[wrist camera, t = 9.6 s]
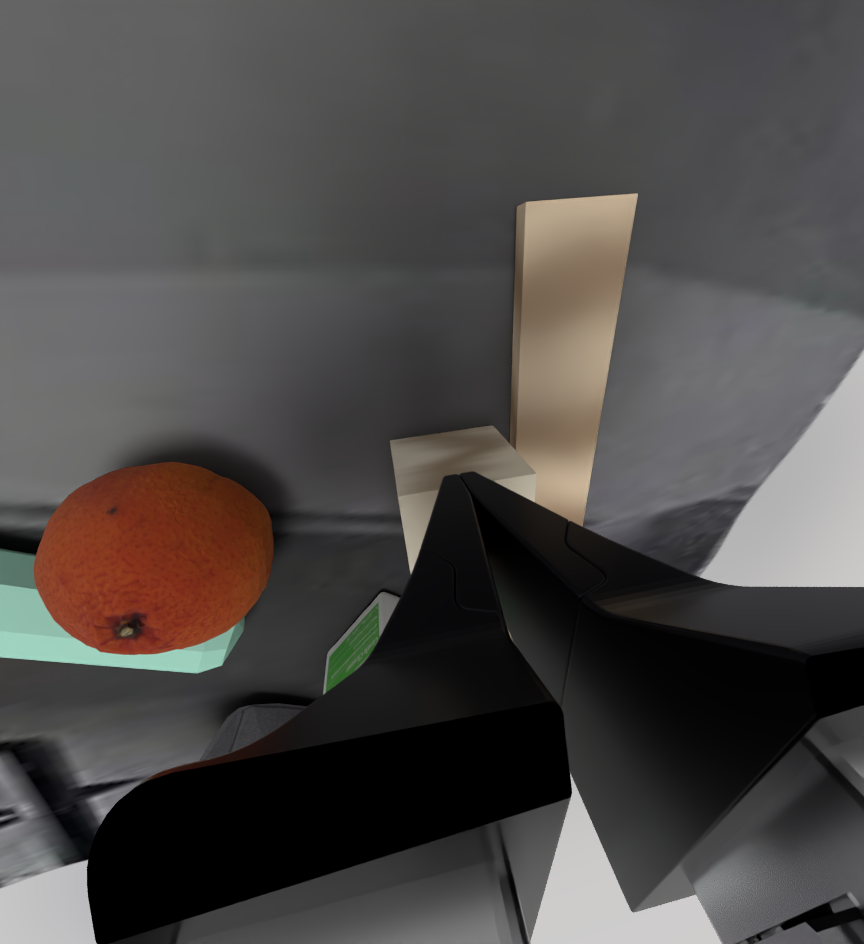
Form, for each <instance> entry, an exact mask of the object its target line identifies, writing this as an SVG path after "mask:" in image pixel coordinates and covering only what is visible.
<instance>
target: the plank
mask: <svg viewBox="0 0 864 944" xmlns="http://www.w3.org/2000/svg"><path fill="white" fill-rule="evenodd" d="M637 196H638V193H637V194H624V195H611V196H597V197H584V198H571V199H557V200H544V201H531V202H525V203H523V204H521V205H519V206H517V217H516V250H515V283H514V316H513V349H512V382H511V415H510V445H511V446H512V447H513V448H514V449H515V450H516V451H517V453H518V454H519V455H520V456H521V457H522V458H523V459H524V460H525V461H526V462H527V464H528V465H529V466H530V467H531V468H532V469H533V470H534V471H535V472H536V473H537V475H536V489H535V503H537V504H539V505H541V506H543V507H545V508H547V509H549V510H551V511H553V512H555V513H557V514H559V515H561V516H563V517H564V518H566V519H568V520H569V521H572V522H574V523H576V524H578V525H580V526H583V520H584V514H585V508H586V502H587V496H588V490H589V484H590V478H591V472H592V466H593V460H594V454H595V448H596V442H597V436H598V430H599V424H600V418H601V412H602V406H603V400H604V394H605V388H606V382H607V376H608V370H609V364H610V358H611V352H612V346H613V340H614V334H615V328H616V322H617V316H618V310H619V304H620V298H621V292H622V286H623V280H624V274H625V268H626V262H627V256H628V250H629V244H630V238H631V232H632V226H633V220H634V214H635V208H636V202H637ZM508 631H509V630H508ZM509 634H510V633H509ZM510 637H511V635H510ZM511 639H512V637H511Z"/></svg>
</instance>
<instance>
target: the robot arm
mask: <svg viewBox="0 0 864 944" xmlns="http://www.w3.org/2000/svg"><path fill="white" fill-rule="evenodd" d="M508 630H509V631H508ZM509 633H510V634H509ZM510 635H511V637H512V639H511V637H510ZM570 773H571V775H572V777H573V780H574V782H575V784H576V786H577V789H578V791H579V793H580V795H581V798H582V800H583V803H584V805H585V807H586V809H587V812H588V814H589V816H590V819H591V821H592V823H593V825H594V828H595V830H596V832H597V834H598V837H599V839H600V841H601V844H602V846H603V848H604V851H605V853H606V855H607V857H608V860H609V862H610V864H611V866H612V869H613V871H614V874H615V876H616V878H617V880H618V883H619V885H620V887H621V890H622V892H623V894H624V896H625V898H626V901H627V903H628V905H629V907H630V909H631V911H632V912H637V911H641V910H644V909H647V908H651V907H655V906H658V905H661V904H665V903H668V902H672V901H675V900H678V899H682V898H685V897H689V896H692V895H695V894H696V895H697V897H698V899H699V901H700V903H701V905H702V906H703V908H704V910H705V912H706V914H707V916H708V918H709V920H710V922H711V924H712V925H713V927H714V929H715V931H716V933H717V935H718V937H719V939H720V941H721V942H722V944H864V587H742V586H734V585H727V584H722V583H717V582H713V581H710V580H706V579H703V578H700V577H698V576H695V575H692V574H690V573H688V572H685V571H683V570H680V569H678V568H676V567H673V566H671V565H668V564H666V563H664V562H661V561H659V560H656V559H654V558H652V557H649V556H647V555H644V554H642V553H640V552H637V551H635V550H632V549H630V548H628V547H625V546H623V545H621V544H619V543H616V542H614V541H612V540H609V539H607V538H605V537H603V536H601V535H599V534H597V533H595V532H592V531H590V530H588V529H586V528H584V527H582V526H580V525H578V524H576V523H574V522H572V521H569V520H568V519H566V518H564V517H563V516H561V515H559V514H557V513H555V512H553V511H551V510H549V509H547V508H545V507H543V506H541V505H539V504H537V503H535V502H533V501H531V500H529V499H527V498H525V497H523V496H522V495H520V494H518V493H516V492H514V491H512V490H510V489H508V488H506V487H504V486H502V485H500V484H498V483H496V482H494V481H492V480H490V479H488V478H486V477H484V476H483V475H481V474H479V473H477V472H474V471H470V472H464V473H460V474H459V475H458V474H452V475H446V476H444V477H443V479H442V482H441V485H440V488H439V491H438V494H437V498H436V501H435V504H434V507H433V510H432V513H431V516H430V520H429V523H428V526H427V529H426V532H425V535H424V539H423V542H422V545H421V549H420V551H419V554H418V557H417V560H416V563H415V565H414V568H413V571H412V573H411V576H410V578H409V580H408V582H407V585H406V587H405V589H404V591H403V593H402V595H401V597H400V599H399V601H398V603H397V605H396V607H395V609H394V611H393V613H392V614H391V616H390V618H389V620H388V622H387V624H386V626H385V628H384V630H383V632H382V634H381V636H380V638H379V640H378V642H377V643H376V645H375V647H374V649H373V650H372V652H371V653H370V655H369V656H368V658H367V659H366V660H365V662H364V663H363V664H362V665H361V666H360V667H359V668H358V669H357V670H356V671H354V672H353V673H352V674H350V675H349V676H348V677H346V678H345V679H344V680H342V681H341V682H340V683H338V684H337V685H336V686H334V687H333V688H331V689H330V690H329V691H327V692H326V693H325V694H323V695H322V696H321V697H319V698H318V699H317V700H315V701H314V702H313V703H311V704H310V705H309V706H307V707H306V708H305V709H303V710H302V711H301V712H299V713H298V714H297V715H295V716H294V717H293V718H291V719H290V720H289V721H287V722H286V723H284V724H283V725H282V726H280V727H279V728H277V729H276V730H274V731H273V732H271V733H270V734H268V735H267V736H265V737H263V738H261V739H259V740H257V741H255V742H254V743H252V744H250V745H248V746H245V747H243V748H241V749H238V750H236V751H233V752H231V753H228V754H225V755H221V756H218V757H215V758H211V759H207V760H202V761H198V762H193V763H189V764H184V765H181V766H177V767H174V768H171V769H167V770H164V771H162V772H160V773H157V774H155V775H153V776H151V777H149V778H147V779H146V780H144V781H143V782H141V783H140V784H139V785H138V786H136V787H135V788H134V789H133V790H131V791H130V792H129V793H128V794H126V795H125V796H124V797H123V798H122V799H120V800H119V801H118V802H117V803H116V804H115V805H114V807H113V808H112V809H111V810H110V811H109V813H108V814H107V815H106V817H105V819H104V820H103V822H102V824H101V825H100V827H99V829H98V831H97V833H96V835H95V838H94V841H93V844H92V847H91V850H90V853H89V859H88V866H87V888H88V898H89V904H90V910H91V916H92V922H93V928H94V934H95V940H96V943H97V944H530V940H531V937H532V933H533V930H534V926H535V923H536V919H537V916H538V912H539V908H540V905H541V901H542V897H543V894H544V891H545V887H546V884H547V880H548V876H549V873H550V869H551V866H552V862H553V859H554V855H555V852H556V848H557V844H558V841H559V837H560V834H561V830H562V827H563V823H564V819H565V815H566V812H567V809H568V805H569V801H570V798H571V794H572V788H571V779H570Z"/></svg>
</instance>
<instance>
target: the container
mask: <svg viewBox="0 0 864 944" xmlns="http://www.w3.org/2000/svg"><path fill="white" fill-rule="evenodd" d="M35 557H36V554H31V553H25V552H19V551H13V550H7V549H1V548H0V657H5V658H17V659H29V660H41V661H53V662H66V663H78V664H90V665H102V666H114V667H126V668H139V669H151V670H163V671H175V672H187V673H200V672H203V671H206V670H209V669H212V668H215V667H218V666H222V664H223V663H224V661H225V659H226V658H227V656H228V655H229V653H230V651H231V650H232V648H233V647H234V645H235V643H236V642H237V640H238V639H239V637H240V635H241V634H242V632H243V631H244V620H245V616H244V617H243V618H242V619H241V621H240V622H238V623H237V624H236V625H235V626H233V627H232V628H231V629H230V630H228V631H227V632H225V633H223V634H221V635H219V636H217V637H215V638H212V639H210V640H208V641H206V642H204V643H201V644H198V645H196V646H191V647H187V648H184V649H176V650H172V651H168V652H164V653H159V654H148V655H142V654H138V655H121V654H111V653H104V652H100V651H98V650H97V649H95V648H92V647H89V646H87V645H85V644H84V643H82V642H81V641H79V640H77V639H76V638H74V637H72V636H71V635H70V634H69V633H67V632H66V631H65V630H64V629H63V628H62V627H61V626H60V625H58V624H57V623H56V622H55V621H54V620H53V618H52V616H51V615H50V613H49V612H48V610H47V608H46V607H45V605H44V603H43V601H42V599H41V597H40V595H39V593H38V590H37V587H36V585H35V580H34V570H33V569H34V561H35Z"/></svg>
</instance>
